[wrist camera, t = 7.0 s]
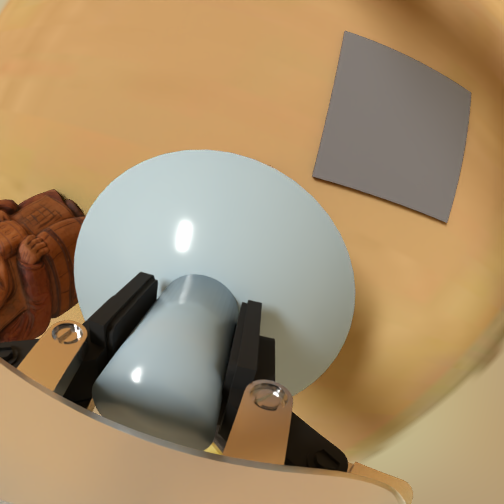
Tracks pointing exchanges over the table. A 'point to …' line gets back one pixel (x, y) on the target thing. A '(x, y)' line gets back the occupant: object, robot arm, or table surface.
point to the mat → (394, 128)
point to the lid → (210, 284)
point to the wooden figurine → (36, 263)
